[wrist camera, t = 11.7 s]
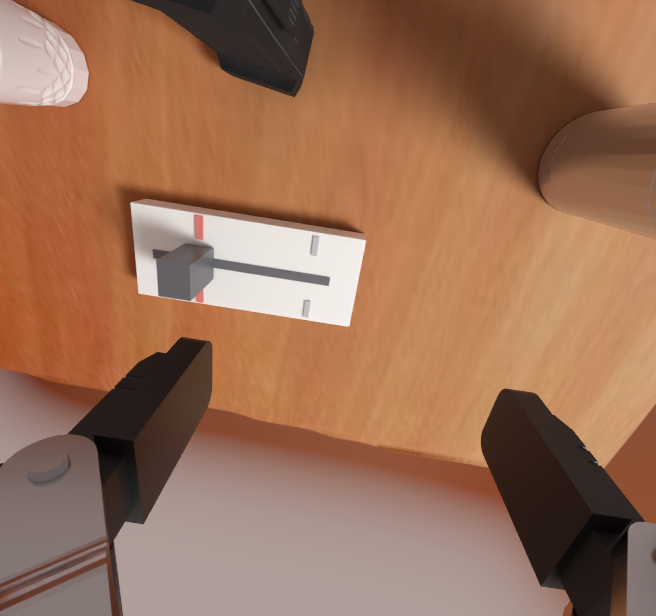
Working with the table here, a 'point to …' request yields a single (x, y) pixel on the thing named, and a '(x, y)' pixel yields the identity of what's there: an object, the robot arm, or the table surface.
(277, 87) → the portable radio
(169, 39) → the table surface
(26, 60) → the white cup
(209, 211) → the panel
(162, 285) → the fader tab
